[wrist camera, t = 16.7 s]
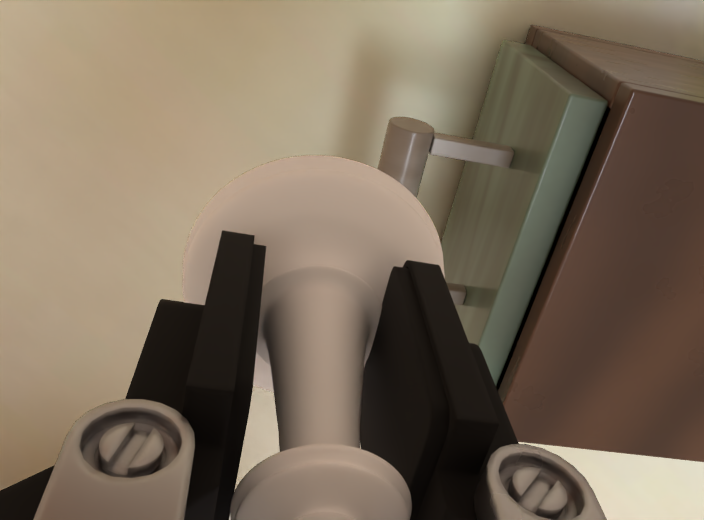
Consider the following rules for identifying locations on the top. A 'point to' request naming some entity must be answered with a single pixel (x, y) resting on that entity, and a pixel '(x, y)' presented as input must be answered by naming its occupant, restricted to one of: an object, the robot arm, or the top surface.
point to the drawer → (505, 189)
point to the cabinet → (622, 269)
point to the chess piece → (316, 324)
